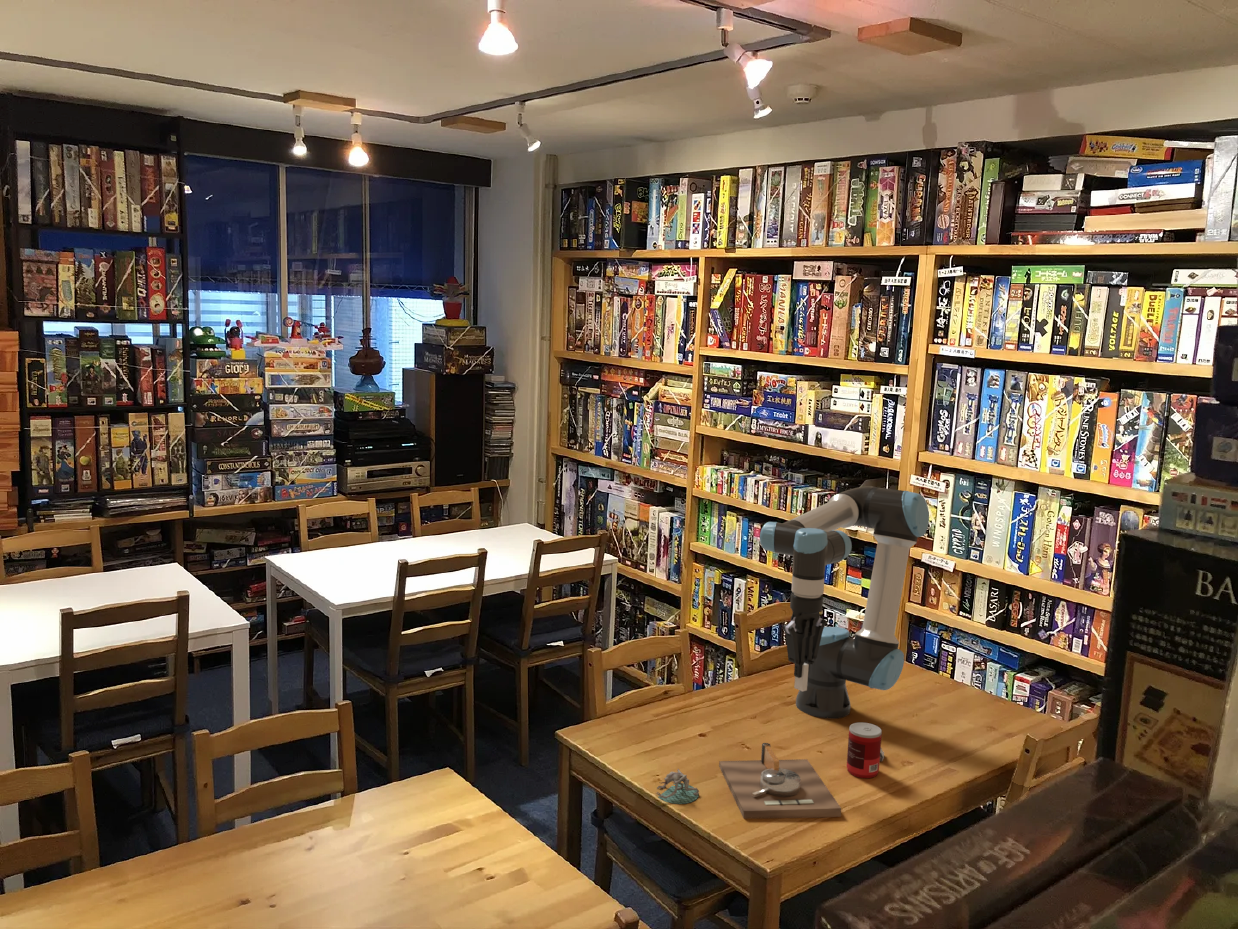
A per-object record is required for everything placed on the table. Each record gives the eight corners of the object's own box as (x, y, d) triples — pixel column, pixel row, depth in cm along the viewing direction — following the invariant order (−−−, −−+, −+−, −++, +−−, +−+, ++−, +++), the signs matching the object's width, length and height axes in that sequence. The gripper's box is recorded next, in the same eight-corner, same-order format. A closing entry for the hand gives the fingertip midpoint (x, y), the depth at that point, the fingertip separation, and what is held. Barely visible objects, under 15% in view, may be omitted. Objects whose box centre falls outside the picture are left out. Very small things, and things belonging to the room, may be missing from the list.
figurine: (641, 790, 220) (642, 764, 219) (688, 782, 224) (689, 757, 223) (660, 813, 209) (661, 786, 209) (709, 804, 214) (710, 778, 213)
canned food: (879, 767, 235) (883, 725, 233) (877, 781, 227) (880, 738, 226) (847, 762, 237) (851, 720, 236) (844, 775, 230) (847, 732, 228)
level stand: (718, 769, 231) (719, 760, 231) (806, 767, 234) (807, 758, 233) (743, 819, 207) (744, 809, 207) (840, 816, 210) (841, 807, 210)
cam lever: (733, 761, 231) (734, 743, 230) (782, 760, 232) (783, 742, 231) (752, 798, 213) (754, 778, 212) (805, 796, 214) (806, 777, 214)
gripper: (813, 586, 233) (807, 679, 236) (776, 593, 225) (770, 689, 228) (837, 594, 227) (830, 689, 230) (800, 601, 219) (793, 699, 222)
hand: (800, 689), depth 229 cm, fingers closed
